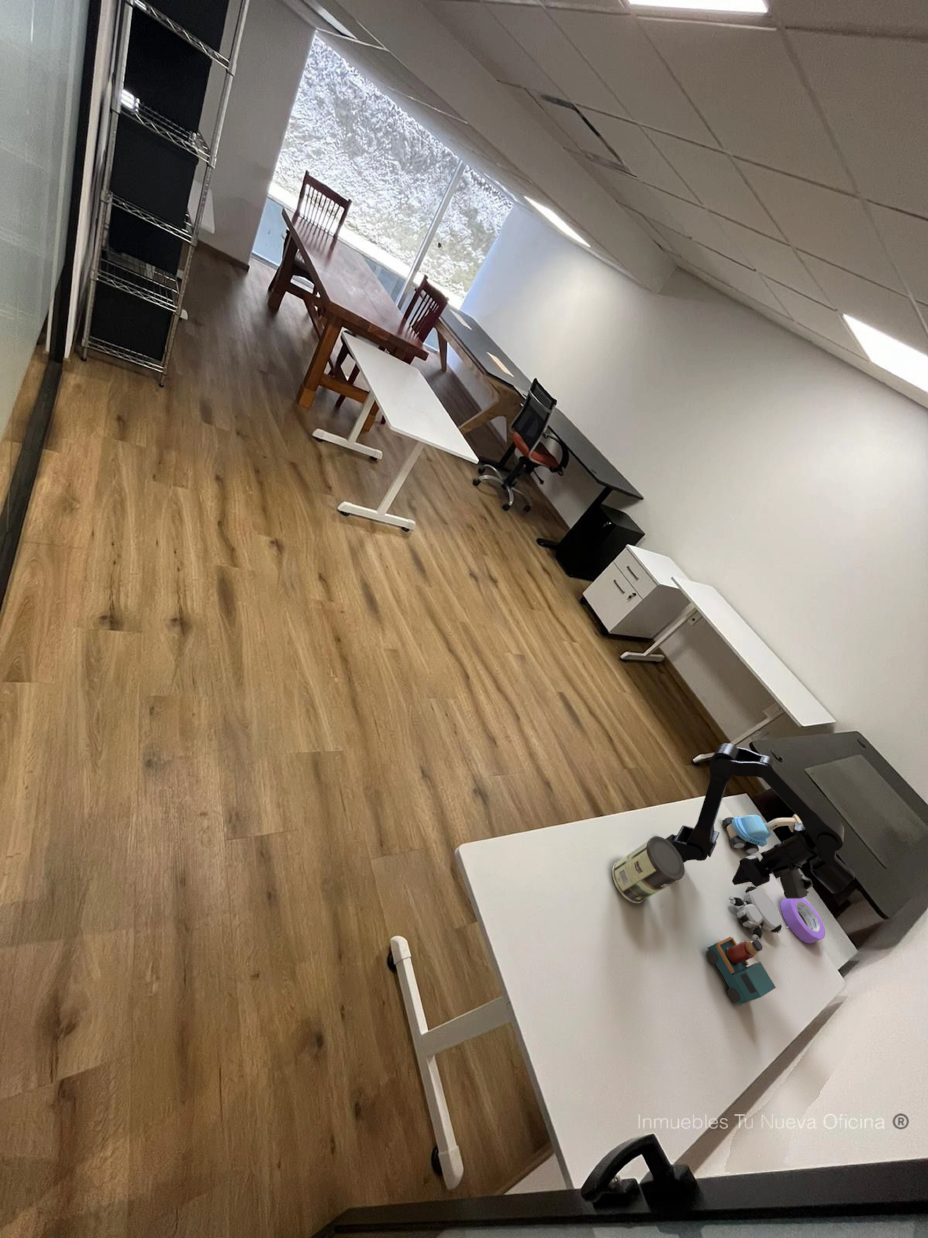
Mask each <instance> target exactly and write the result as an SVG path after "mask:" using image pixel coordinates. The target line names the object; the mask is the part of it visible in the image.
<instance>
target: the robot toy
mask: <svg viewBox="0 0 928 1238" xmlns="http://www.w3.org/2000/svg"><path fill="white" fill-rule="evenodd" d="M744 893H745V894H744V900H743V899H742V898H740V897H736V896H735V897H733V896H729V897H728V900H729V903H730V904H731V905H733V906H735V907H738V911H737V913H736V915H737V918H738V919H739V921H740V923H741V925H742V926H743V927H746V928H749V929H753V930H752V934H751V936H752V939H753V941H754V940H758V941H759V942H761V938H762V936H763V930H762V928H763V929H764V930H766V931H768V932H771V933H777V934H780V933H781V932H782V931H785V929H788V928H789V926H788V925H787V926H785V927H784V928H783V926H782V924H783V918H782V917H783V916H782V914H781V913H780V911H779V909H778V908H777V906H776V904H775V902H774V901H773V900H772V899H771V897H770V896H769V895H768V894H767V893H766V891H764V890H763V889H761V888H760V887H756V886H754V885H753V884H752V883H751V884H749V885H747V886H746V889H745V891H744ZM782 928H783V929H782Z"/></svg>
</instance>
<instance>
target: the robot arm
mask: <svg viewBox="0 0 928 1238" xmlns="http://www.w3.org/2000/svg"><path fill="white" fill-rule="evenodd" d="M732 776H736V777H754V778H755V777H756V778H761V779H762V780H763V781H764V783H766V784H767V786H769V787H770V788H771V790H772V791H773V792H774V793H775V794H776V795H777V796H778V797H779V798H780V799H781V801H782V802H783V803H785V804H786V806H787V807H788V808H789V809H790V810H791V811H792V812H793V813H794V814H796V815H797V816H798V817H799V819H800V820H801V822H802V824H803V825H801V824H799V823H795V824H794V828H793V832H792V833H794V835H792V836H791V837H789V838H787V839H785V840H783V841H782V842H779V843H776V844H774V845H773V846H772V847H771V848H769V849H768V850H763V851H762V852H760V856H761V857H762V858H761V859H759V856H755V855H754V854H750V855H747V856H745V857H742V858H741V859H739V860H738V862H739V864H738V867H737V869H736V872H735V874H734V876H733V878H732V880H731V882H732V884H733V885H734V886H737V885H738V886H739V885H743V884H747V883H751V885H752V884H753V885H752V886H754V887H756V888H759V887H760V886H763V885H765V884H767V883H769V882H770V880H771V875H773V877H774V878H775V880H776V879H779V881H780V885H781V887H782V890H783V895H784V897H785V899H786V898H787V899H801V898H806V897H807V896H808V894H809V893H810V892H809V889H810V888H812V887H813V886H814V884H813V881H812V879H811V878H809V877H807V876H805V875H803V873H800V871H799V869H801V868H802V867H803V865H804V864H806V863H809V866H810V867H809V871H810V873H811V874H812V875H813V876H814V877H815V878H816V879H817V880H818V881H819V882H820V883H821V884H822V885H823V886H824V887H825V888H826V890H828V891H829V892H830V893H831V894H838V893H841V892H843V891H844V889H845V888H846V887H847V886H848V885H849V884H850V883H851V882H852V881H853V880H855V877H856V874H855V872H854V871H853V870H852V869H851V868H849V867H848V866H846V864H845V863H844V862H843V861H841V860H840V859H839V858H838V856H837V852H838V851H840V850H841V849H842V847H843V846H844V837H845V827H844V825H843V823H842V822H841V821H840V820H839V819H838V818H836V817H835V816H834V815H833V814H831V813H830V812H829V811H828V810H826V809H824V808H821V807H819V806H818V805H816V804H815V803H814V801H812V800H811V799H810V797H808V795H806V793H805V792H804V791H802V789H800V787H799V786H798V785H797V784H796V783H795V782H794V781H793V780H792V779H791V778H790V777H789V776H788V775H787V774H786V772H784V771H783V770H782V769H781V767H779V765H778V764H777V763H776V761H775V760H774V758H772V757H771V756H768V755H764V754H760V753H757V752H755V751H752V750H750V749H748V748H744V747H738V746H736V745H734V744H731V743H725V742H724V743H721V744H719V745H718V746H717V747H716V749H715V751H714V753H713V754H712V756H711V757H710V761H709V783H708V786H707V789H706V793H705V795H704V798H703V802H702V805H701V809H700V812H699V816H698V819H697V822H696V824H695V826H694V827H693V826H692V827H691V826H688V825H684V824H683V825H681V827H680V829H679V830H678V832H677V834H673V833H672V834H670V835H668V836H667V837H666V838H665V839H666V840H667V841H669V842H670V843H671V844H672V845H673V846H674V847H675V848H676V850H677V851H678V853H679V854H680V856H681V858H682V860H683V863H684V864H685V863H686V862H688V861H699V862H702V861H706V860H707V858H711V857H712V855H713V852H714V850H715V848H716V846H717V840H718V838H719V835H720V834H721V833H720V831H717V830H715V823H716V821H717V817H718V814H719V811H720V808H721V804H722V801H723V798H724V795H725V791H726V789H727V785H728V783H729V781H730V780H731V778H732Z"/></svg>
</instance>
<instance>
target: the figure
mask: <svg viewBox="0 0 928 1238" xmlns="http://www.w3.org/2000/svg"><path fill="white" fill-rule="evenodd" d="M763 950H764V948H763V945H762V942H761V941H758V940H754V939H753V940H747V941H741V942H739V943H737V945H735V946H733V947H728V948H726V949H725V954H726V957H727V959H728V960H729V962H730V963H731V964H732V965H734V966H737V965H739V964H740V963H741V962H744V961H746V960H747V961H748V960H750V959H753V958H754V957H755V956H756V955H758V954H759V952H761V951H763Z"/></svg>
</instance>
